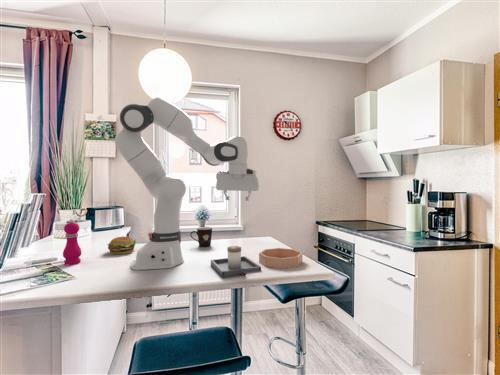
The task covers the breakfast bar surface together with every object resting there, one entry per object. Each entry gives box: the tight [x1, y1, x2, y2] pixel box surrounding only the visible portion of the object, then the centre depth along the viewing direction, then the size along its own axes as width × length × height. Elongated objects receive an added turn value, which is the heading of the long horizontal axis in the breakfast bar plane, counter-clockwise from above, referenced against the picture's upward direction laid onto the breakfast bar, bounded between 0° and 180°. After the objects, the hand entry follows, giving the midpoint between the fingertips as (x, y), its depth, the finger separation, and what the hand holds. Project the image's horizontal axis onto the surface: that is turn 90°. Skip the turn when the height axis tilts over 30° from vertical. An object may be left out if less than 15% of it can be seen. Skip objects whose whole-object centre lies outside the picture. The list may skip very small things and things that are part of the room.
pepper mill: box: [62, 218, 82, 266], centre depth 133 cm, size 7×7×20 cm
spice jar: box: [226, 245, 242, 269], centre depth 122 cm, size 6×6×8 cm
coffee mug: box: [189, 226, 213, 248], centre depth 167 cm, size 12×9×10 cm
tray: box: [210, 255, 262, 279], centre depth 122 cm, size 16×18×2 cm
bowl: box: [258, 247, 303, 269], centre depth 129 cm, size 18×18×5 cm
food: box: [107, 236, 137, 255], centre depth 153 cm, size 14×14×8 cm
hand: (237, 200), depth 140 cm, fingers open, 8 cm apart
